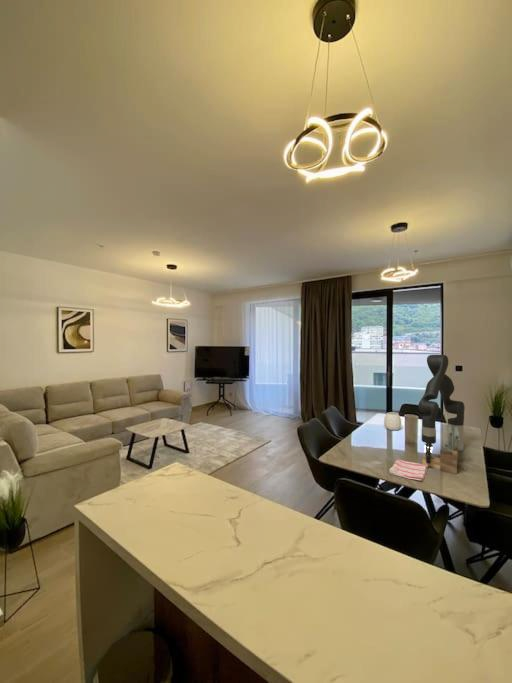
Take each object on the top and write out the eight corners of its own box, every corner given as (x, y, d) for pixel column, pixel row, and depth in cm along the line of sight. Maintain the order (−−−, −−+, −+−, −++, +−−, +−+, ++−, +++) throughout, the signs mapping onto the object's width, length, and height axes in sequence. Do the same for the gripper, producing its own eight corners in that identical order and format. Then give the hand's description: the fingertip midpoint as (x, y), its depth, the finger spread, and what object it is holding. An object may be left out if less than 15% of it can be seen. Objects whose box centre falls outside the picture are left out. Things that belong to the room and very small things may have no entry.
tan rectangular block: (423, 463, 183) (423, 454, 183) (446, 467, 176) (446, 458, 176) (422, 465, 179) (422, 456, 179) (445, 470, 173) (445, 460, 173)
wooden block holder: (440, 464, 180) (440, 441, 180) (457, 467, 176) (457, 443, 176) (440, 470, 171) (440, 446, 171) (457, 474, 167) (457, 449, 167)
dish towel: (388, 475, 167) (388, 468, 167) (397, 461, 186) (397, 456, 186) (422, 483, 157) (422, 477, 157) (428, 468, 176) (428, 462, 176)
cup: (403, 429, 252) (403, 413, 252) (398, 432, 243) (398, 416, 243) (387, 426, 261) (387, 410, 261) (381, 429, 252) (381, 413, 252)
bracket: (460, 468, 174) (460, 434, 173) (445, 465, 177) (445, 432, 177) (457, 453, 197) (456, 423, 197) (444, 451, 201) (444, 421, 201)
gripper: (422, 430, 187) (422, 455, 187) (420, 436, 175) (420, 463, 175) (436, 432, 183) (436, 458, 183) (435, 438, 171) (435, 466, 171)
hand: (428, 460), depth 179 cm, fingers open, 8 cm apart
